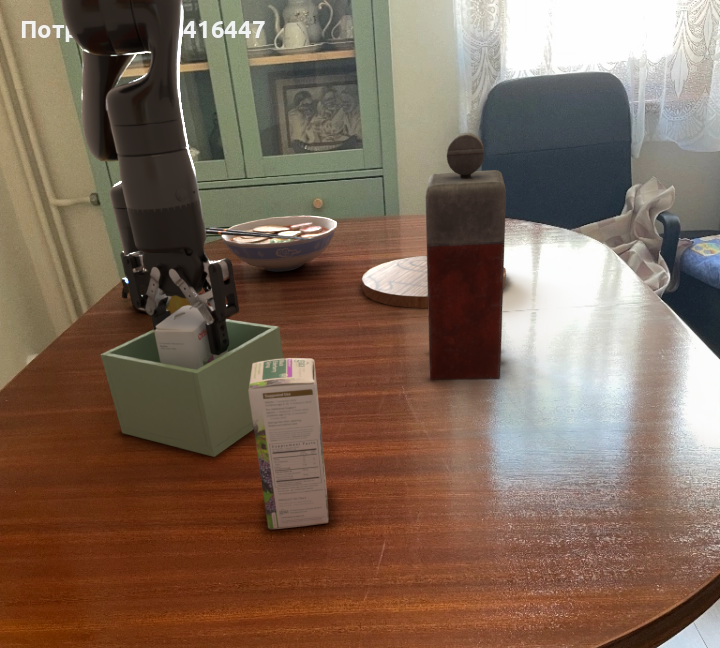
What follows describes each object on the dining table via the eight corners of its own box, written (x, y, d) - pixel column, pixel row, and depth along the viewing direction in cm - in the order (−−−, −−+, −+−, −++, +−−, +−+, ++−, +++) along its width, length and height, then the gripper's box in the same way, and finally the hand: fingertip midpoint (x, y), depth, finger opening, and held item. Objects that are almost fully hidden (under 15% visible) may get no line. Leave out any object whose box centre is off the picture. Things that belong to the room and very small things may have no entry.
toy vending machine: (496, 345, 101) (503, 124, 87) (500, 378, 92) (508, 136, 77) (432, 347, 103) (428, 129, 88) (429, 379, 93) (424, 141, 79)
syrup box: (269, 498, 72) (247, 361, 64) (329, 491, 72) (313, 354, 64) (268, 531, 67) (244, 387, 59) (332, 524, 67) (315, 380, 60)
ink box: (212, 427, 84) (192, 329, 78) (172, 426, 85) (149, 329, 79) (237, 395, 91) (221, 303, 85) (200, 394, 92) (181, 303, 86)
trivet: (473, 314, 113) (473, 302, 112) (336, 299, 124) (335, 288, 123) (526, 270, 131) (526, 259, 130) (402, 260, 142) (402, 251, 141)
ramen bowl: (367, 256, 147) (364, 214, 142) (300, 289, 131) (294, 243, 127) (270, 247, 159) (265, 208, 155) (198, 277, 143) (190, 234, 139)
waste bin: (121, 433, 87) (100, 354, 81) (202, 386, 97) (187, 313, 92) (214, 457, 80) (197, 373, 75) (289, 403, 90) (279, 326, 85)
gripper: (239, 193, 74) (262, 344, 83) (139, 189, 81) (170, 330, 90) (190, 209, 69) (220, 369, 78) (87, 203, 76) (125, 351, 84)
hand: (193, 348), depth 84 cm, fingers open, 7 cm apart
